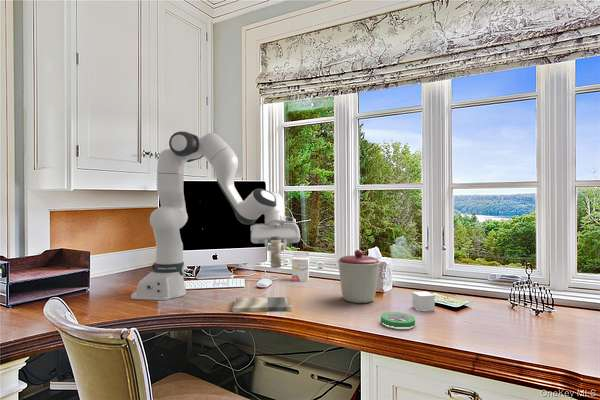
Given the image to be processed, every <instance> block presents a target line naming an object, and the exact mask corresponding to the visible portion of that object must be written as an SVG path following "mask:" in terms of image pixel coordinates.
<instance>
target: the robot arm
mask: <svg viewBox="0 0 600 400" xmlns="http://www.w3.org/2000/svg"><path fill="white" fill-rule="evenodd" d="M168 141H169V143H168V145H169V148H166V149H163V150H162V151H160V153H159V154H158V155H159V156H158V160H157V165H156V166H157V169H156V193H157V195H158V199H159V203H160V206H159V207H157V208H156V209H154V210H153V211H152V212H151V214H150V216H149V224H150V226H151V228H152V231H153V235H154V239H155V246H156V247H155V252H156V253H155V254H156V255H155V260H156V261H155V262H154V263H152V265H150V270H151V271H150V272H149V273H148V274H147V275H146V276H144V277H142V279H140V281H139V282H138V283H137V287H136V291H134V292H132V293H131V295H130V299H131V300H145V301H146V300H150V301H153V300H154V301H168V300H171V299H175V298H180V297H183V296H185V295H186V294H187V290H186V286H185V279H184V275H185V274H184V273H185V261H184V244H183V241H182V237H181V233H180V229H182V228H183V227H184V226H185V225H186V223H187V222H188V219H189V216H188V213H187V208H186V206H187V205H186V200H185V194H184V177H185V176H184V174H185V173H184V171H185V170H184V167H185V164H186V162H187V163H191V162H194V161H197V160H201V159H202V158H203V157H204V158H205V159H206V160H207V161H208V162H209V164H210V165H211V167H212V168H213V169H214V172H215V175H216V182H217V184H218V186H219V188H220V190H221V192H222V193H223V195H224V197H225V198H226V200H227V201H228V203H229V205H230V207H231V208H232V210H233V213H234V215H235V217H236V219H237V220H238V221H239V222H240V223H241V224H243V225H250V229H249V230H250V242H251V243H253V244H264V246H265V248H266V249H267V252H271V237H276V236H277V237H281V252H282V251H285V248H286V246H287V244H288V243H289V244H296V243H299V242H300V241H301V233H300V228H299V226H298V224H297V221H296V218H294V217H291V216H286V215H285V212H286V209H285V201H284V199H283V197H282V195H281V194H280V193H278V192H276V191H269V190H266V189H263V188H256V189H254V190H252V192H251V193H250V194H249V195H248V196H247V197H246V198H245V199H244V200H243V198H242V197H241V195H240V194H239V192H238V190H237V189H236V186H235V177H236V173H237V171H238V167H239V159H238V156H237V154H236V152H235V151H234V150H233V148H231V147H230V145H229V144H228V143H227V142H226V141H225V140H224V139H223V138H222V137H221V136H219V135H218V134H217V133H214V132H209V133H206V134H204V135H203V136H202V137H199V136H198V135H196V134H193V133H190V132H188V131H177V132H174V133H173V134H172V135H171V136H170V138H169V140H168ZM262 215H264V223H255V222H256V221H257V220H258V219H259V218H260V217H261V216H262Z"/></svg>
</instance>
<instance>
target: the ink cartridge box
mask: <svg viewBox="0 0 600 400" xmlns="http://www.w3.org/2000/svg"><path fill="white" fill-rule="evenodd" d="M309 254H310V252H309V251H293V257H292V259H291V260H292V261H291V262H292V263H291V264H292V266H291V281H292V282H309V278H310V277H309V276H310V255H309Z"/></svg>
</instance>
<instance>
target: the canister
mask: <svg viewBox="0 0 600 400" xmlns="http://www.w3.org/2000/svg"><path fill="white" fill-rule="evenodd" d="M336 262H337V263H338V271H339V280H340V287H341V295H342V297H343V299H344V300H345V301H347V302H350V303H356V304H367V303H370V302H373V300H374V299H375V297H376V293H377V287H378V285H377V284H378V278H379V269H380V265H381V261H380V260H379V259H378V258H376V257H374V256H369V255H368V256H367V255H364V252H363V250H361V249H356V250H355V251H354V254H353V255H345V256H344V255H343V256H342V257H340V258H339V259H337V260H336Z"/></svg>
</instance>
